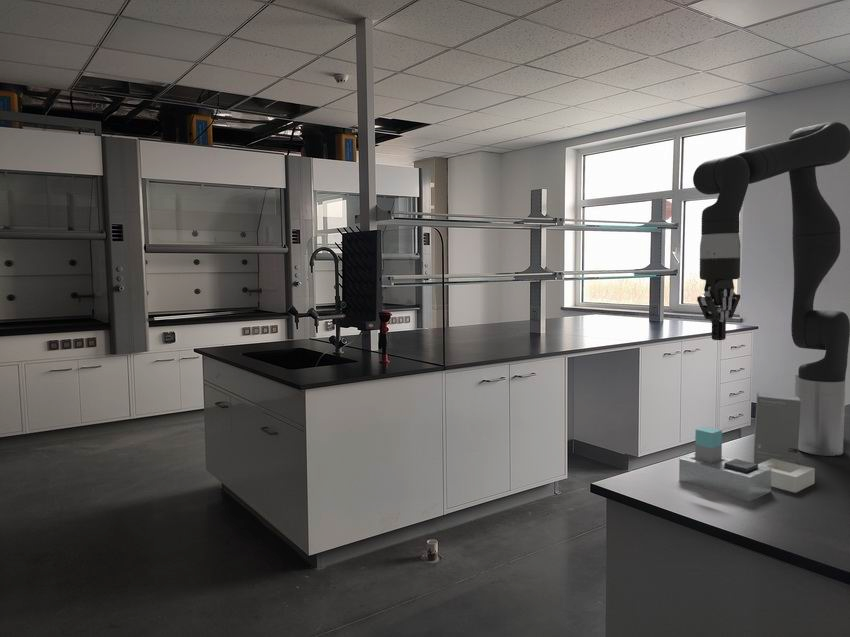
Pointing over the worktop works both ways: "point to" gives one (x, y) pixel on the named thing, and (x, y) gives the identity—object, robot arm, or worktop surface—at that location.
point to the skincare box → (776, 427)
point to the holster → (789, 475)
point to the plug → (708, 445)
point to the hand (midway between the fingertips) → (718, 339)
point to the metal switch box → (727, 477)
